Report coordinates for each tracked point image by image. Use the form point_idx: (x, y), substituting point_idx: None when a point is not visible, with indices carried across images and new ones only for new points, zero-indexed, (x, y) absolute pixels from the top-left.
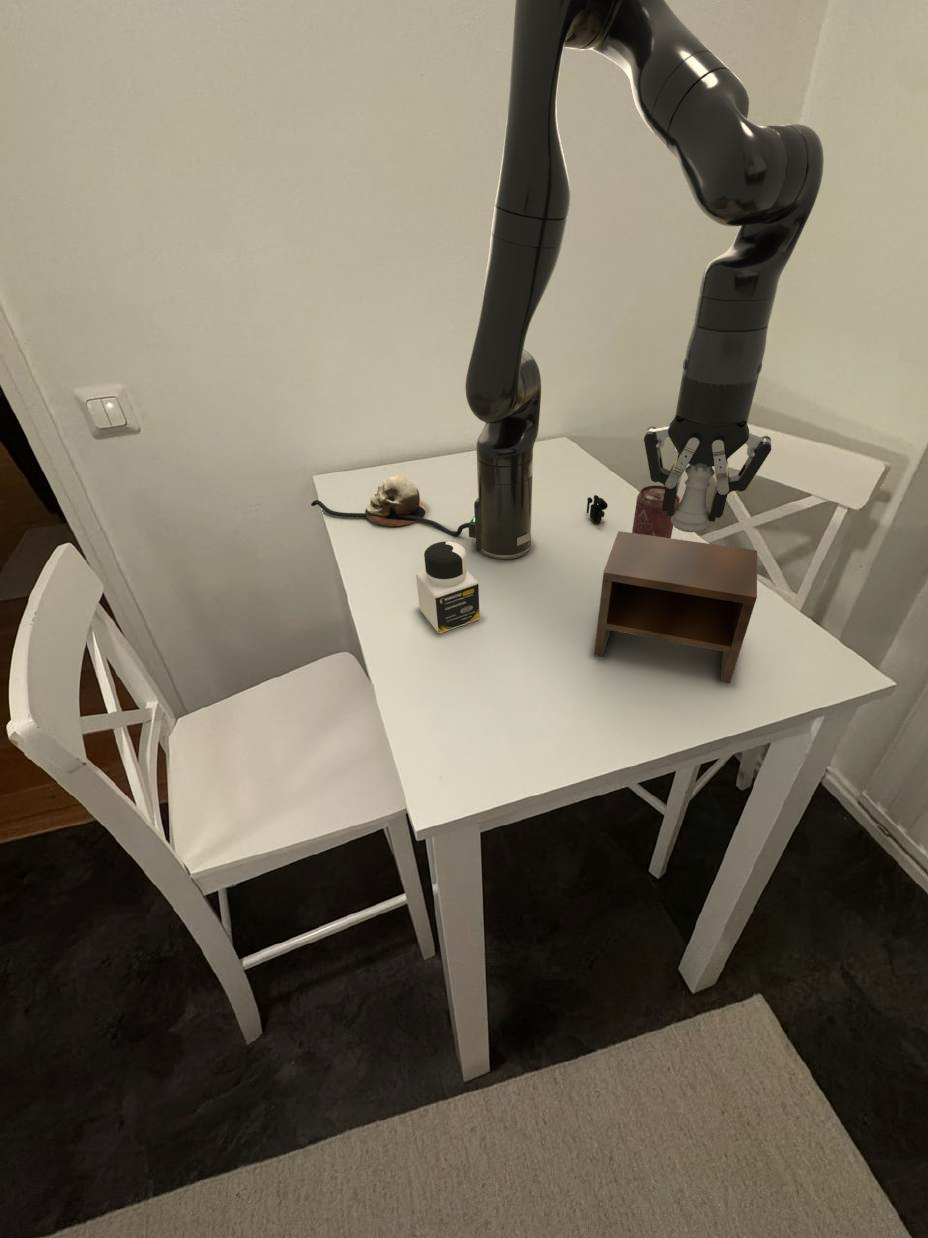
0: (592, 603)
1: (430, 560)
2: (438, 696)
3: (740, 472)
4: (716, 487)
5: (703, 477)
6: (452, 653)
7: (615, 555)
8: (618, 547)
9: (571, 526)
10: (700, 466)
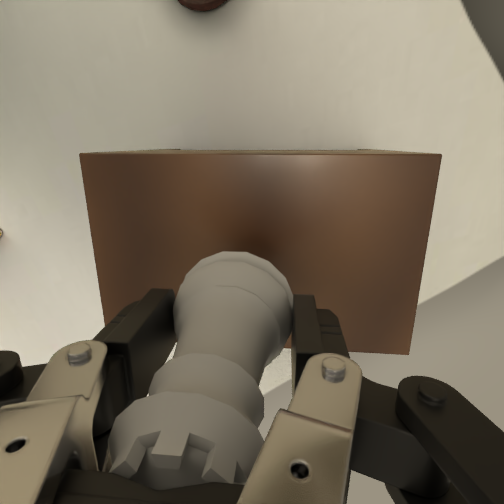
0: (139, 135)
1: None
2: None
3: (428, 450)
4: (299, 361)
5: None
6: (12, 305)
7: (108, 273)
8: (104, 236)
9: None
10: None
